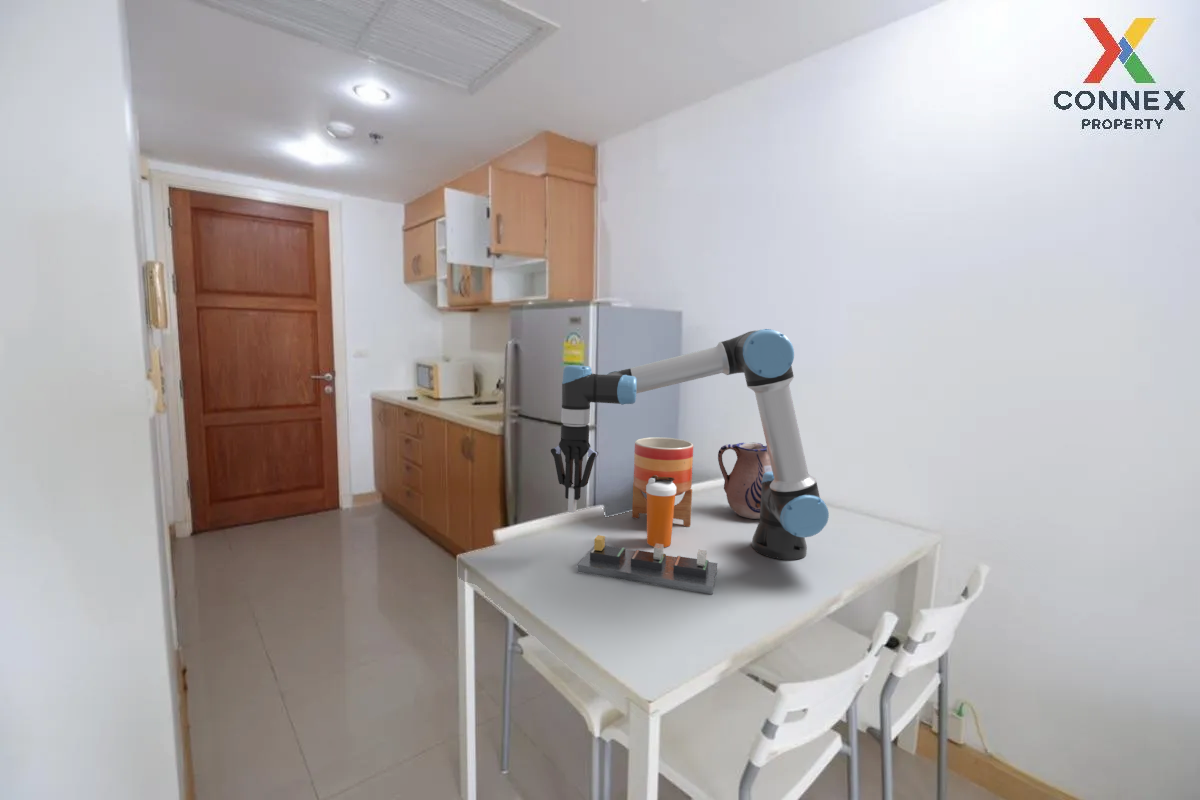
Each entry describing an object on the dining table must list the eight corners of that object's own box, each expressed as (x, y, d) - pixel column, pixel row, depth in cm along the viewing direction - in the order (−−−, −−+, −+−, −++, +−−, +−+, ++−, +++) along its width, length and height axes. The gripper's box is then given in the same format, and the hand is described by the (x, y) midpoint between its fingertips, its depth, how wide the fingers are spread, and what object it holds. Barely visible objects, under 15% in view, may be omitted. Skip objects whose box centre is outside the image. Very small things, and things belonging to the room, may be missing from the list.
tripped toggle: (604, 546, 139) (605, 536, 138) (601, 551, 136) (601, 540, 136) (597, 545, 139) (597, 535, 139) (594, 549, 136) (594, 538, 136)
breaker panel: (717, 570, 136) (718, 544, 135) (712, 594, 122) (713, 565, 122) (594, 551, 146) (594, 527, 145) (577, 572, 132) (578, 545, 132)
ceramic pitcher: (784, 524, 173) (789, 451, 170) (721, 522, 173) (725, 449, 170) (768, 508, 190) (772, 441, 187) (711, 506, 190) (714, 439, 188)
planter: (622, 526, 167) (625, 444, 164) (641, 508, 185) (644, 435, 182) (682, 536, 159) (686, 451, 156) (696, 517, 178) (700, 440, 175)
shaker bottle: (673, 550, 148) (676, 482, 146) (642, 547, 150) (644, 480, 148) (674, 539, 157) (677, 474, 155) (645, 536, 159) (648, 472, 156)
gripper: (603, 424, 138) (599, 509, 140) (557, 420, 142) (555, 503, 144) (594, 428, 131) (590, 518, 133) (546, 424, 135) (544, 511, 137)
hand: (572, 510), depth 139 cm, fingers closed
